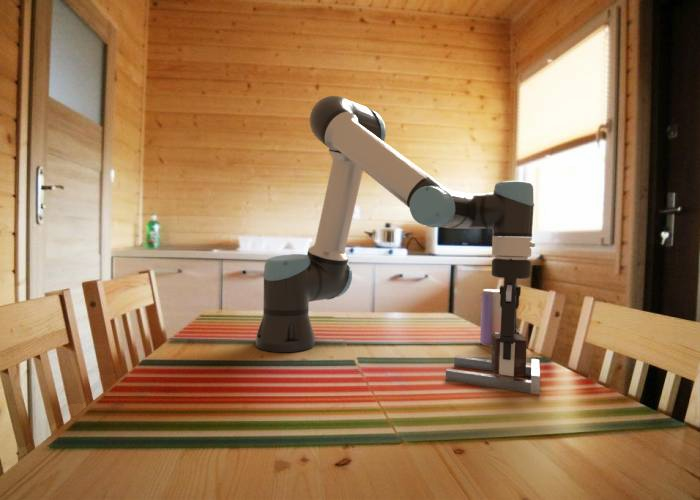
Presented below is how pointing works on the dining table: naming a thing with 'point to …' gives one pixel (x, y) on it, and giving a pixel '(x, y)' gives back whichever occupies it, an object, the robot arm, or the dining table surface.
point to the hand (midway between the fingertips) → (507, 369)
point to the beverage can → (490, 315)
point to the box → (518, 356)
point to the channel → (493, 380)
